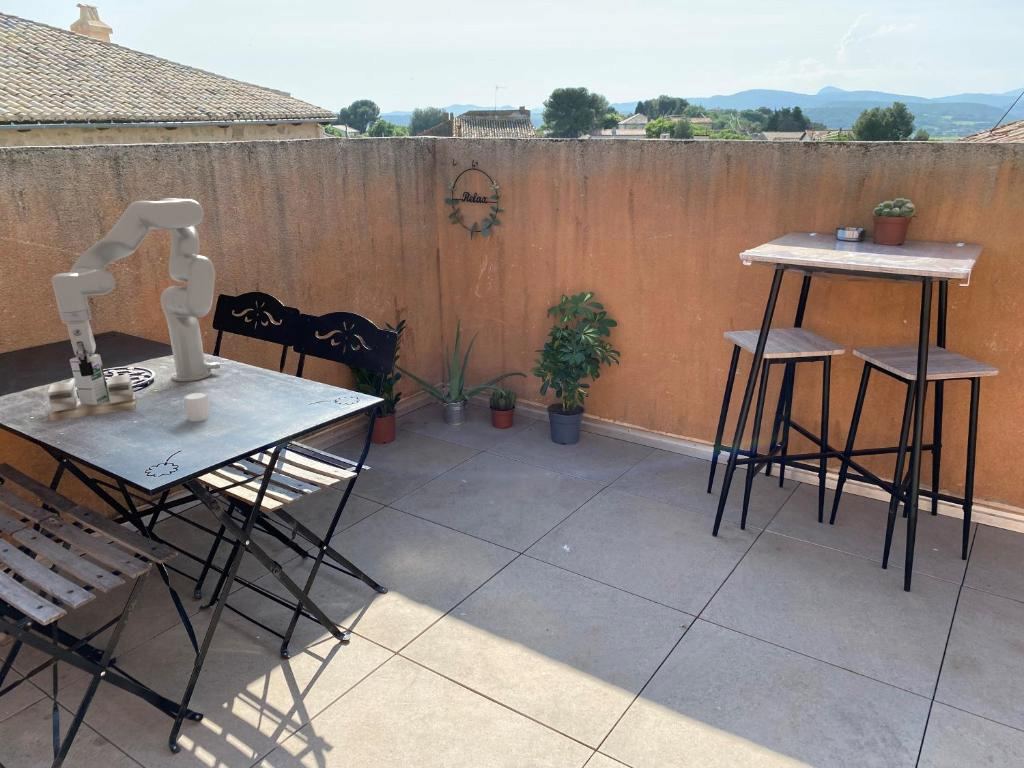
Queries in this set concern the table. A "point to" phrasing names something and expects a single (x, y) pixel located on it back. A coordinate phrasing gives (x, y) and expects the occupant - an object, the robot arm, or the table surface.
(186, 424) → the table surface
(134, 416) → the table surface
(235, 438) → the table surface
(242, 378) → the table surface
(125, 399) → the rail board
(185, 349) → the robot arm
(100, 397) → the syrup box
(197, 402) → the shot glass
